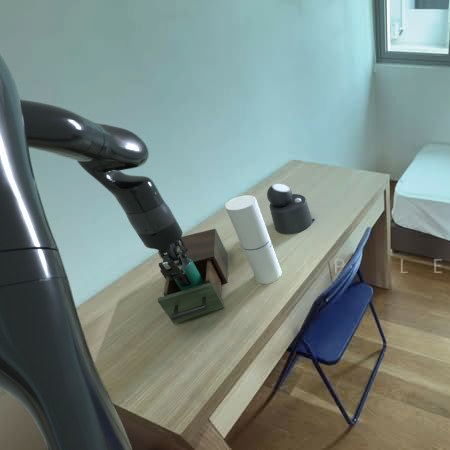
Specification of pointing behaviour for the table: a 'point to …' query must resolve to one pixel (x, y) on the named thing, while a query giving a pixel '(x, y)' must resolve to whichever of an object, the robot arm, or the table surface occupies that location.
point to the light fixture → (288, 210)
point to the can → (190, 274)
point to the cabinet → (206, 251)
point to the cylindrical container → (254, 238)
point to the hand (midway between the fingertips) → (187, 277)
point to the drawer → (193, 295)
